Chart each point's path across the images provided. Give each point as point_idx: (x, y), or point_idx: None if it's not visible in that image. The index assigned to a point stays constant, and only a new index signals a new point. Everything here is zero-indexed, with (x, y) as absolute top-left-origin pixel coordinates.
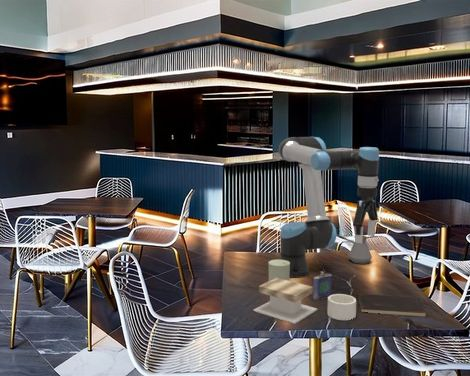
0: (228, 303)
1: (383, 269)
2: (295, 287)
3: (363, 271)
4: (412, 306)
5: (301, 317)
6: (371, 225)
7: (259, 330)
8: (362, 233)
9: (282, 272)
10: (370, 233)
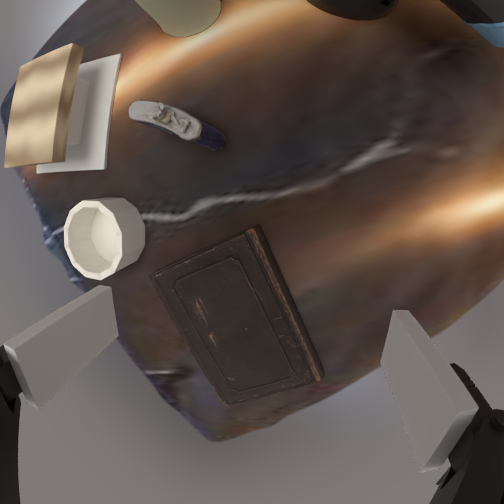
0: (67, 21)
1: None
2: (33, 129)
3: (493, 171)
4: (242, 380)
5: (55, 169)
6: (416, 403)
7: None
8: (71, 373)
9: (141, 6)
10: (393, 345)
